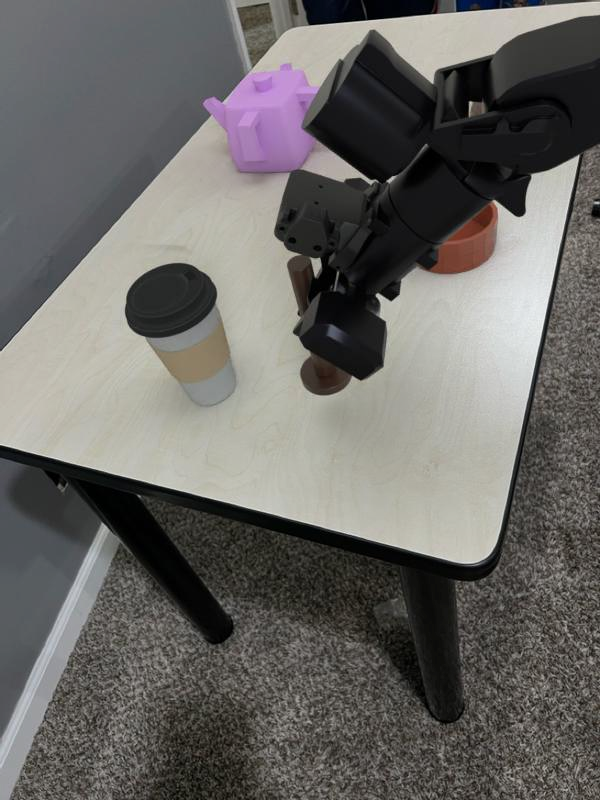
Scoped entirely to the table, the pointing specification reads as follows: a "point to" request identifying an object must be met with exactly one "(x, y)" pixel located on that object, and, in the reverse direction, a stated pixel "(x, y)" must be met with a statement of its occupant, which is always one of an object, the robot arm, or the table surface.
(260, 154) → the teakettle
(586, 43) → the robot arm
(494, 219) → the bowl
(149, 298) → the coffee cup
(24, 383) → the table surface
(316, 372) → the dark brown rod
